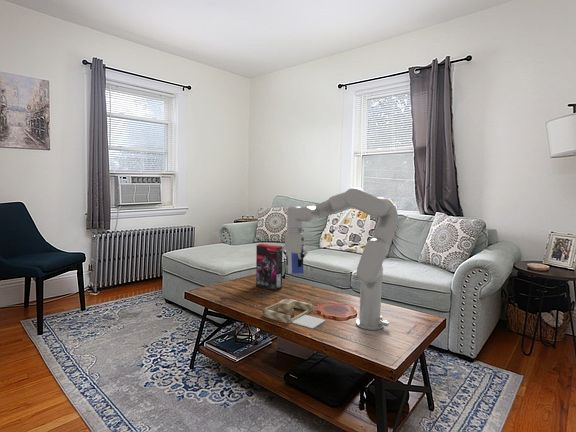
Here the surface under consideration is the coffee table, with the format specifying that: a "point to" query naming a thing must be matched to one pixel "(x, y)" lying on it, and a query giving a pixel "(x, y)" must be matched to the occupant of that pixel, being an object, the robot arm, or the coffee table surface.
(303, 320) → the mat
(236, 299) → the coffee table surface
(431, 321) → the coffee table surface
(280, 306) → the offcut upper
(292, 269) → the walkman
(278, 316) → the rack
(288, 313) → the offcut lower
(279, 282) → the graphics card box
